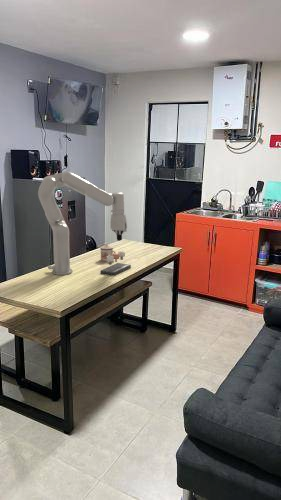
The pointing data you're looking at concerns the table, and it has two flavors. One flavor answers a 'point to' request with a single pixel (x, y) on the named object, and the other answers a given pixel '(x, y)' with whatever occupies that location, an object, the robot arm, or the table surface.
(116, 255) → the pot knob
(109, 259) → the knob near
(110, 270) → the mount plate
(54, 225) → the robot arm
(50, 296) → the table surface
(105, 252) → the teacup with lid
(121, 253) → the knob far
